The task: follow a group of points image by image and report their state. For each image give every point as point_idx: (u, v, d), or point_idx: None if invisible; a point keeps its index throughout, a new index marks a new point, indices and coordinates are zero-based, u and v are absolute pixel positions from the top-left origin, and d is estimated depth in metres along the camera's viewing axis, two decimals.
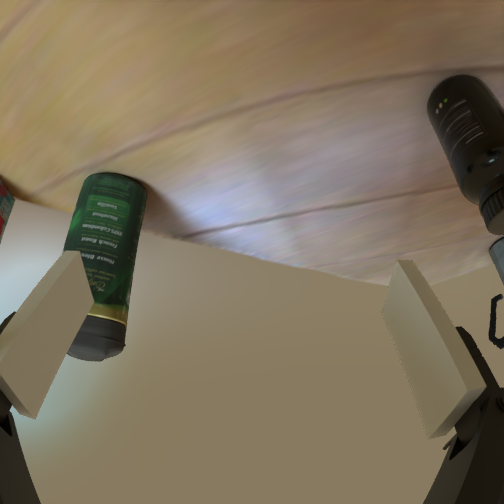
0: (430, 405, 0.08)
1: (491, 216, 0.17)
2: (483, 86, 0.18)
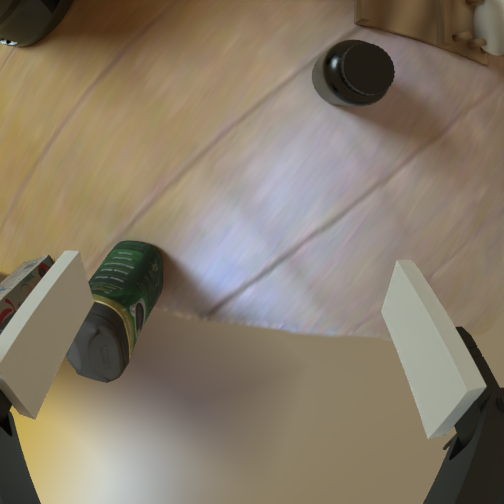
0: (430, 405, 0.08)
1: (346, 77, 0.23)
2: None
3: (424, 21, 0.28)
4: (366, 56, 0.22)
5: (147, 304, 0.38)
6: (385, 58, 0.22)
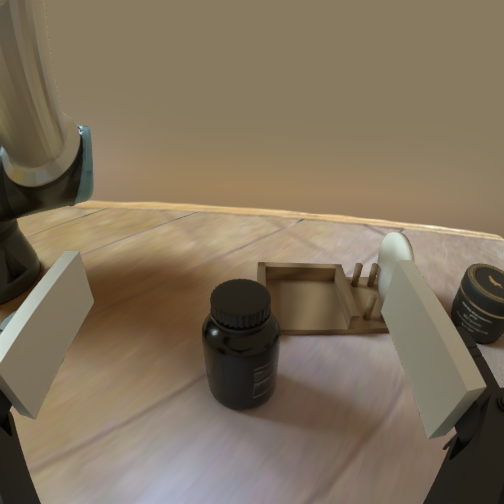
0: (430, 405, 0.08)
1: (214, 307, 0.25)
2: None
3: (329, 313, 0.40)
4: (237, 287, 0.26)
5: None
6: (258, 286, 0.26)
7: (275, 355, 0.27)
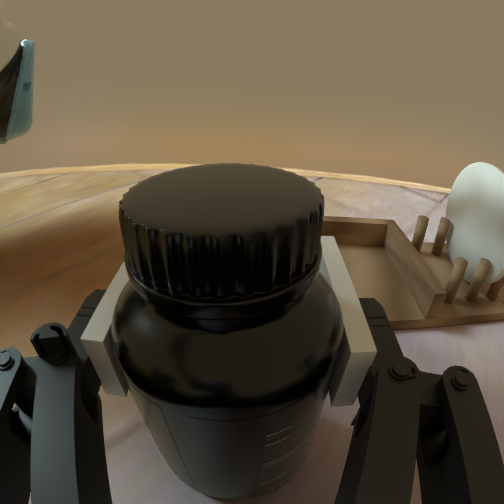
0: None
1: (125, 219, 0.06)
2: None
3: (390, 294, 0.22)
4: (212, 175, 0.08)
5: None
6: (278, 173, 0.08)
7: (328, 387, 0.09)
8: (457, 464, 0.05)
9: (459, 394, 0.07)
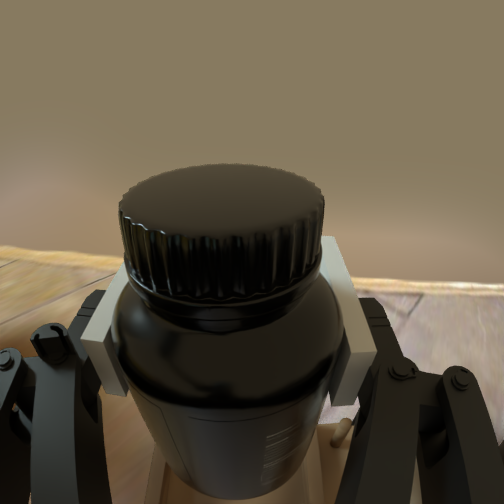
0: None
1: (124, 219, 0.06)
2: None
3: None
4: (212, 175, 0.08)
5: None
6: (278, 173, 0.08)
7: (328, 388, 0.09)
8: (457, 464, 0.05)
9: (459, 394, 0.07)
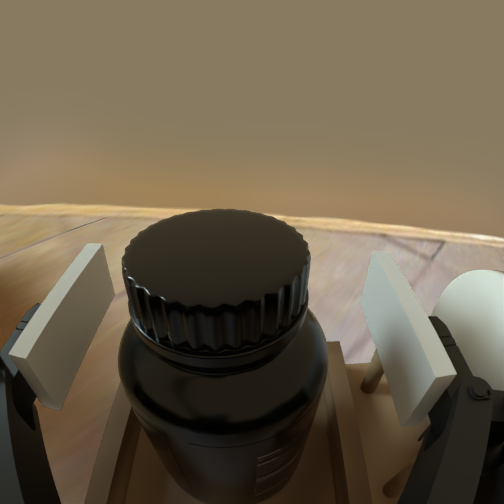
0: (402, 393, 0.09)
1: (128, 277, 0.07)
2: None
3: (296, 487, 0.12)
4: (207, 226, 0.09)
5: None
6: (269, 223, 0.09)
7: (313, 414, 0.09)
8: None
9: None
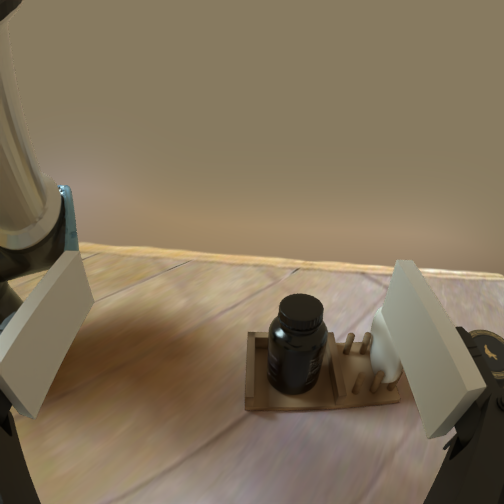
0: (430, 405, 0.08)
1: (284, 315, 0.33)
2: None
3: (318, 388, 0.38)
4: (297, 300, 0.35)
5: None
6: (313, 299, 0.35)
7: (324, 350, 0.35)
8: None
9: None
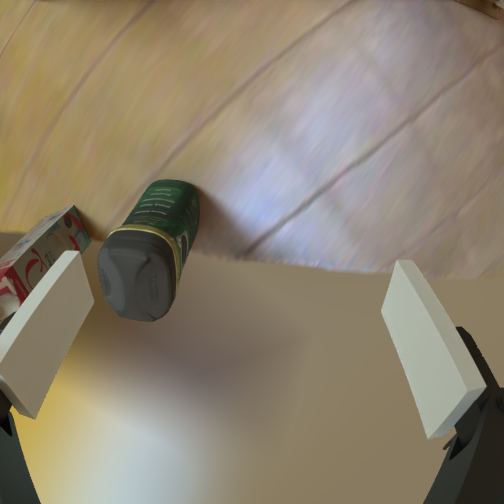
0: (430, 405, 0.08)
1: None
2: None
3: None
4: None
5: (189, 239, 0.38)
6: None
7: None
8: None
9: None
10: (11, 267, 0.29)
